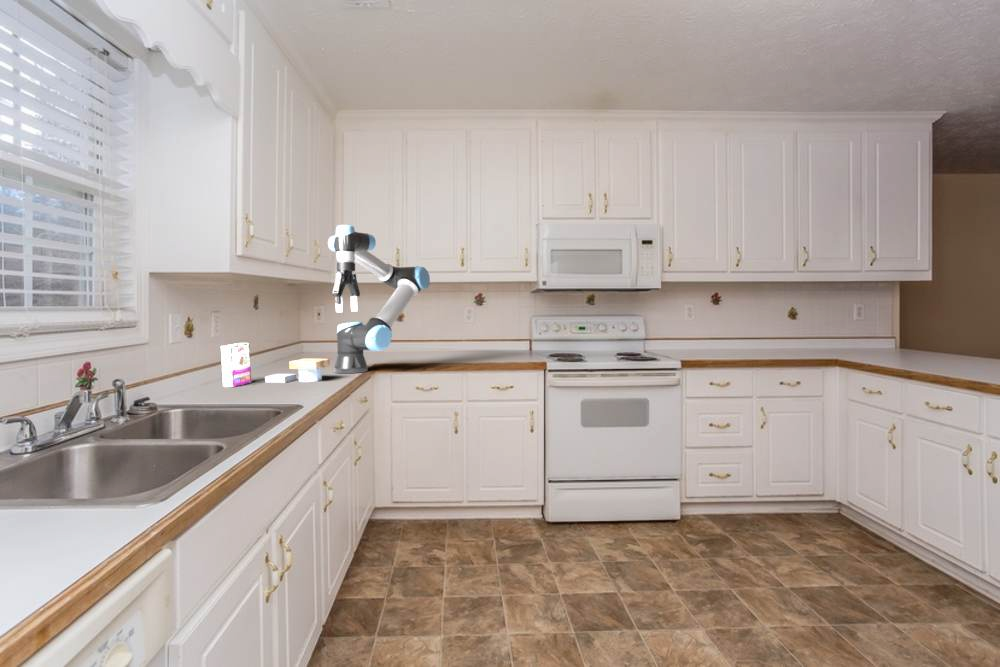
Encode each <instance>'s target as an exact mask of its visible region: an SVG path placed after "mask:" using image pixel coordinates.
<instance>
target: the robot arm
mask: <svg viewBox="0 0 1000 667" xmlns="http://www.w3.org/2000/svg"><path fill="white" fill-rule="evenodd" d="M327 240H328V241H327V245H328V246H327V247H328V248H329V250H331V252H333V253H336V261H337V263H336V270H337V271H338V272H336V273H335V278H334V280H335V281H334V283H333V284H334V285H333V289H332V296H333V297H335V312H336V313H344V298H343V297H344V296H343V295H342V294H343V292H344V290H345V287H346V286H347V287H348V289H349V292H350V295H351V296H350V310H351V312H358V311H359V306H358V297H361V296H360V295H361V292H360V289H359V284H358V280H357V273H353V272H355V271H356V263H357V264H358V265H359V266H361V267H363V268H365V270H367V271H369V272H370V273H372V274H373V275H375V276H377V278H378V279H377V280H379V281H380V282H382V283H383V284H386V285H387V286H389V287H392V288H394V289H395V290H394V291H393V293H392V294H391V296H390V297H389V298H388V300H387V301H386V302H385V303H384V304H383V307H382V308H381V310H379V312H378V313H377V314H376V315H375V316H374V317H371V318H370V319H369V320H368V321H367V322H366V324H364V323H363V322H362V321H353V322H344V323H340V324H338V325H337V328H336V329H337V330H336V341H337V346H336V347H337V358H336V360H335V364H334V368H333V370H334V371H333V372H334V373H335V374H358V373H359V374H360V373H365V372H368V370H369V368H368V364H367V361H366V358H365V356H364V351H373V352H378V351H379V352H380V351H384V350H386V349H387V348H388V347H389V346H390V344H391V343H392V336H393V334H392V327H393V325H394V324H395V322H396V321H397V319H398V318H399V317H400V316H401V314H402V312H403V311H404V309H405V308H406V307H407V305H408V304H409V302H410V300H412V298H414V297H417V296H418V295H419V293H420V292H421V290H423V291H424V290H427V289H428V288H429V287H430V284H431V279H430V274H429V271H428V270H427V268H425V266H418V265H417V266H404V267H403V266H400V267H397V266H393V265H392V264H390V263H385V262H384V261H382V260H381V259H379V258H378V257H376V256H375V255H373V254H372V253H371V252H370V251H373V250H374V249H375V247H376V244H377V243H376V242H377V241H376V238H375V236H374V235H372V234H370V233H364V232H359V231H358V232H357V231H356V230H355V227H354V226H353V225H350V224H349V225H348V224H340V225H339V224H338V225H337V226H336V228H335V234H334V235H332V236H330V237H329V238H328V239H327Z"/></svg>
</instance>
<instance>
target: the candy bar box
mask: <svg viewBox="0 0 1000 667" xmlns="http://www.w3.org/2000/svg"><path fill="white" fill-rule="evenodd" d="M220 353H221V354H220V355H221V357H220V358H221V372H222V387H224V388H237V387H239V386H245V385H248V384H251V383H252V372H251V371H252V370H251V352H250V343H248V342H238V343H233V344H227V345H221V346H220Z"/></svg>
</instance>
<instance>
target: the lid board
mask: <svg viewBox="0 0 1000 667" xmlns="http://www.w3.org/2000/svg"><path fill="white" fill-rule="evenodd" d="M330 360H331V359H330V358H300V359H294V360H290V361H289V362H288V366H289V370H298V369H320V368H322V369H323V368H327V367H330V366H331V362H330Z"/></svg>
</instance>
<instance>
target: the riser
mask: <svg viewBox="0 0 1000 667" xmlns="http://www.w3.org/2000/svg"><path fill="white" fill-rule="evenodd" d="M294 381H297V373H275V374H269V375H265V376H264V382H265V383H269V384H271V383H272V384H273V383H274V384H275V383H276V384H286V383H289V382H294Z"/></svg>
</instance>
